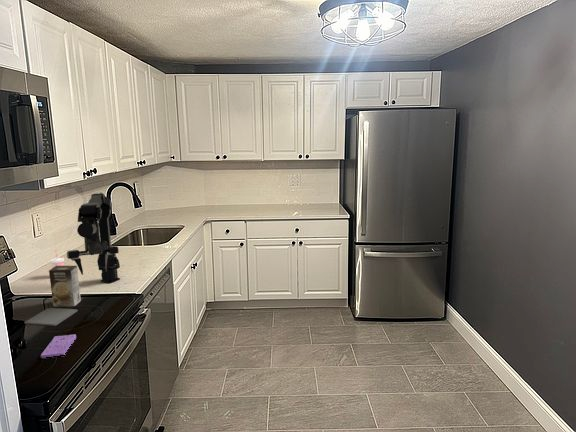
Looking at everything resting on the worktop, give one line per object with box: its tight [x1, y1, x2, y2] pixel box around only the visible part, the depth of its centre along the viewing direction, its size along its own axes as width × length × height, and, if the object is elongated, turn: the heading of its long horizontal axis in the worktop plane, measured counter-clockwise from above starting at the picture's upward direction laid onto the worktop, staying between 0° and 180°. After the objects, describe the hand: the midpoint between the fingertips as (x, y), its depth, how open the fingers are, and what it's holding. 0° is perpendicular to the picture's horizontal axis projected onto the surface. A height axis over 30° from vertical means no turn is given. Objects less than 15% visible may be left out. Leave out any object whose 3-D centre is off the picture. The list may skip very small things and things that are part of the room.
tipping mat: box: [24, 307, 78, 327], centre depth 163 cm, size 13×13×1 cm
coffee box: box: [48, 265, 82, 308], centre depth 174 cm, size 9×6×16 cm
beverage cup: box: [50, 249, 65, 269], centre depth 207 cm, size 6×6×14 cm
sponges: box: [40, 333, 77, 359], centre depth 140 cm, size 7×13×2 cm, turn 10°
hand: (94, 272), depth 170 cm, fingers open, 9 cm apart
